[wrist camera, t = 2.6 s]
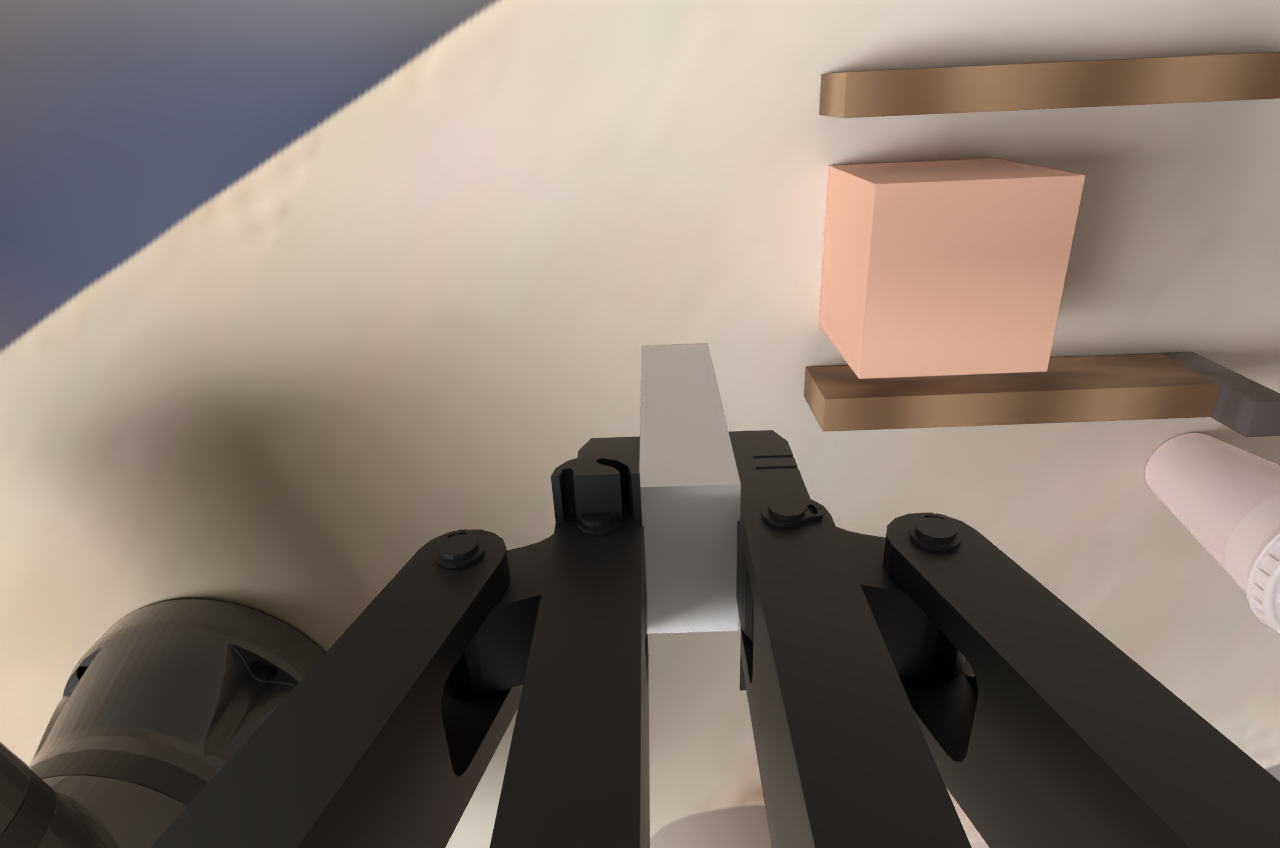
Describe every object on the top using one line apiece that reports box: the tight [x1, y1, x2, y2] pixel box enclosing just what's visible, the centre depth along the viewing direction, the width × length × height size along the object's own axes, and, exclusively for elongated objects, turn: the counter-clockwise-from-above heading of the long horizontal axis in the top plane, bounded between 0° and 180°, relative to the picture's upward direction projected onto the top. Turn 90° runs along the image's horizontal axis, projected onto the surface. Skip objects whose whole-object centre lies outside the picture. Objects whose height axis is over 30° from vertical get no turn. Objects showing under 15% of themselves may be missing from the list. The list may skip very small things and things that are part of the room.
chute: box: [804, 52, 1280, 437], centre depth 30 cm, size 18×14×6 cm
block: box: [819, 158, 1085, 379], centre depth 29 cm, size 7×7×7 cm
